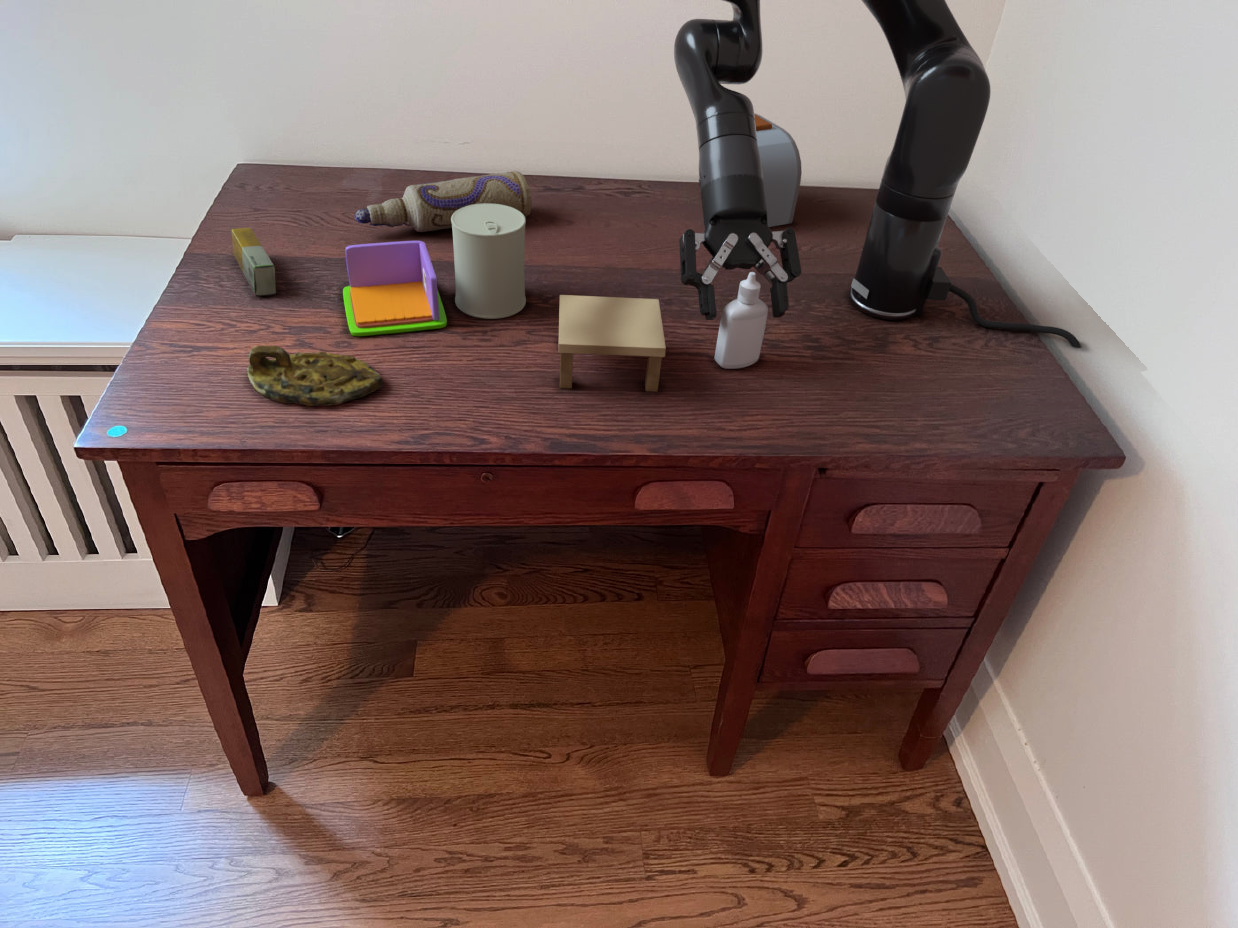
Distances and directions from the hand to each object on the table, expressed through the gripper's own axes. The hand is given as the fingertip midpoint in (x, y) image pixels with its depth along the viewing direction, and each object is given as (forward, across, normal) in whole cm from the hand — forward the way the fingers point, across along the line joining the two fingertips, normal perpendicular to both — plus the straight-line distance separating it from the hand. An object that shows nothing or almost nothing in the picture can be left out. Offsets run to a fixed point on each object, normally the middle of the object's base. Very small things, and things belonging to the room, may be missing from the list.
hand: (745, 317), depth 104 cm
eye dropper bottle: (+4, 0, +5) cm, 7 cm away
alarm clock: (-27, +16, +36) cm, 48 cm away
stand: (+4, -16, +6) cm, 17 cm away
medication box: (-14, -58, +24) cm, 65 cm away
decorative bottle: (-25, -32, +35) cm, 53 cm away
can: (-8, -28, +18) cm, 34 cm away
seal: (+4, -50, +6) cm, 50 cm away
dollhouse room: (-7, -41, +17) cm, 45 cm away
